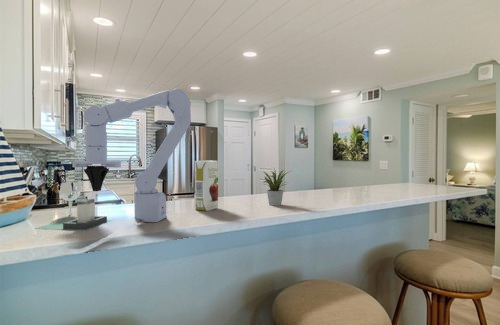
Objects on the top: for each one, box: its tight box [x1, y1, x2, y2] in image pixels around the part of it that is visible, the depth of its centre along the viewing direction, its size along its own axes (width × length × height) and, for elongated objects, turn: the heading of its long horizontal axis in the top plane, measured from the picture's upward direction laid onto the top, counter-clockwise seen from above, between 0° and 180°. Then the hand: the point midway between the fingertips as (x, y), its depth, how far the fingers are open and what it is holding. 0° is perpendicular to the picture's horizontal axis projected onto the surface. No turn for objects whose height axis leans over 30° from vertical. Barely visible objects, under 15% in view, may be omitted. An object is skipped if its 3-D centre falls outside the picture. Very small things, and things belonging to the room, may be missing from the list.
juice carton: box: [194, 160, 219, 212], centre depth 110 cm, size 8×9×19 cm
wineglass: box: [59, 180, 81, 216], centre depth 94 cm, size 6×6×12 cm
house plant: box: [262, 168, 292, 207], centre depth 121 cm, size 14×14×16 cm
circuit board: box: [34, 215, 113, 231], centre depth 81 cm, size 15×12×2 cm
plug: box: [76, 198, 96, 223], centre depth 81 cm, size 5×3×7 cm, turn 10°
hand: (96, 190), depth 87 cm, fingers closed
